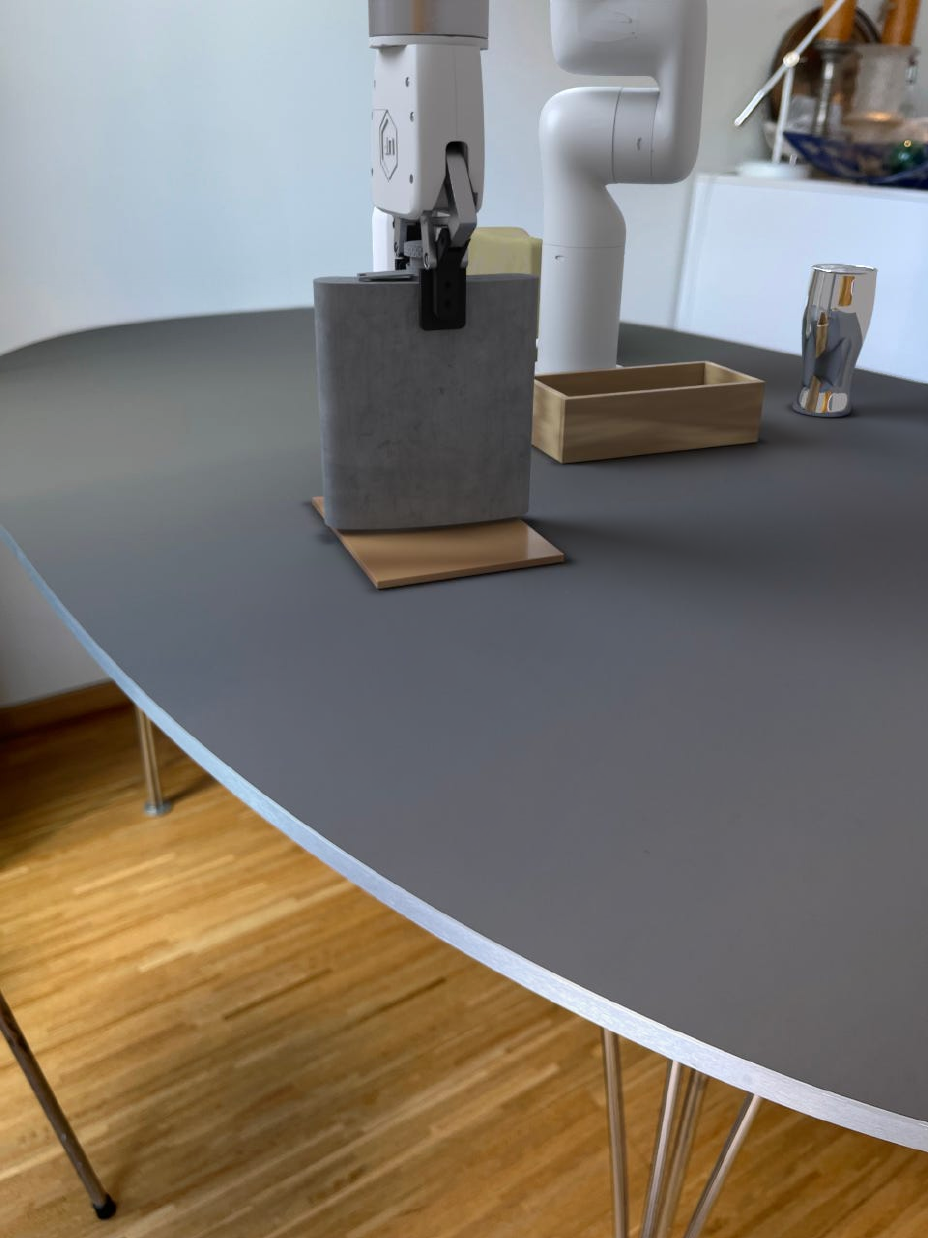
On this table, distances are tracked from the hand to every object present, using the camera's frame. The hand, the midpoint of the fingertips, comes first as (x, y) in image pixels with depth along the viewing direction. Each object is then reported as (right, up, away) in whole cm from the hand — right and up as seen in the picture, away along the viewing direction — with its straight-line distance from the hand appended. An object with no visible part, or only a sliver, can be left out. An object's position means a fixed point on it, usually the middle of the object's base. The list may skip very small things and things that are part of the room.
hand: (429, 319), depth 72 cm
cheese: (+9, +16, +70) cm, 72 cm away
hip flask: (0, -14, +6) cm, 15 cm away
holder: (+20, -3, +30) cm, 36 cm away
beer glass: (+42, +2, +41) cm, 59 cm away
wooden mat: (0, -14, +7) cm, 16 cm away
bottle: (-3, +1, +38) cm, 38 cm away
